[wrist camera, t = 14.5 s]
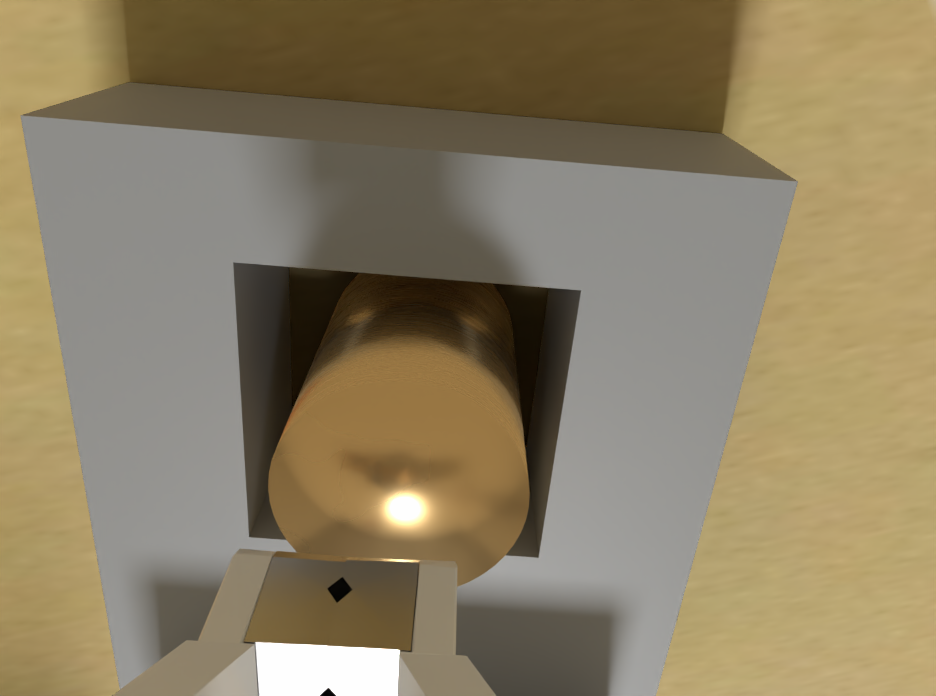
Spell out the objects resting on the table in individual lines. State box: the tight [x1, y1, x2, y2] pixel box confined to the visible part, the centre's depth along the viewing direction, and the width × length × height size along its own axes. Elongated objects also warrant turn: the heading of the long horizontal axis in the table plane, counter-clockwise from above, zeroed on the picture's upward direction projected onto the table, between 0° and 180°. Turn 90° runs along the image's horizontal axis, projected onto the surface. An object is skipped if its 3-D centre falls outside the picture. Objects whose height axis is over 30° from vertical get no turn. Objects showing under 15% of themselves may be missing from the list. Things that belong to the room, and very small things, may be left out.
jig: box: [21, 82, 798, 696], centre depth 16 cm, size 12×16×7 cm
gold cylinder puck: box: [268, 273, 530, 587], centre depth 15 cm, size 4×4×6 cm
